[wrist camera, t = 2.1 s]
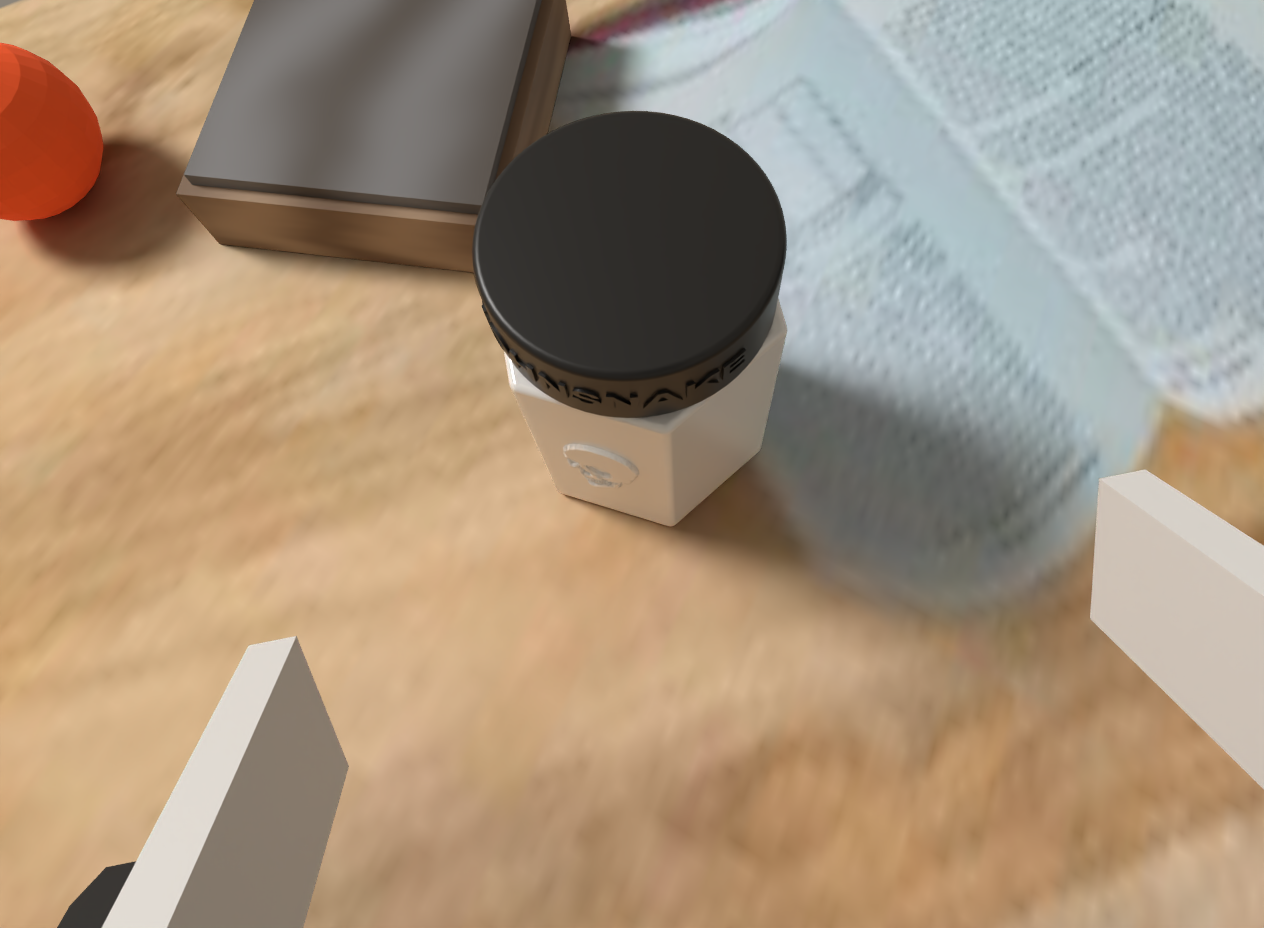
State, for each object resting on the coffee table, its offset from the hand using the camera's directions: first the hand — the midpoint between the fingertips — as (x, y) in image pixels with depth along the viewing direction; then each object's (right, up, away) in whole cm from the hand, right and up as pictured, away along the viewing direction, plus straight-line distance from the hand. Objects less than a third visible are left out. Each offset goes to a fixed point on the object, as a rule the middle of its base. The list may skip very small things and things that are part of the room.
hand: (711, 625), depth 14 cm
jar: (-1, +4, +19) cm, 20 cm away
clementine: (-27, +15, +25) cm, 40 cm away
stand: (-12, +17, +24) cm, 32 cm away
